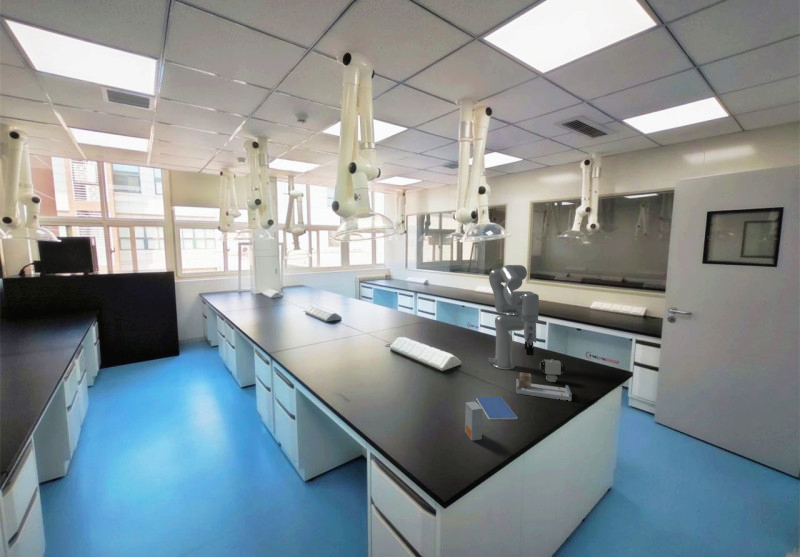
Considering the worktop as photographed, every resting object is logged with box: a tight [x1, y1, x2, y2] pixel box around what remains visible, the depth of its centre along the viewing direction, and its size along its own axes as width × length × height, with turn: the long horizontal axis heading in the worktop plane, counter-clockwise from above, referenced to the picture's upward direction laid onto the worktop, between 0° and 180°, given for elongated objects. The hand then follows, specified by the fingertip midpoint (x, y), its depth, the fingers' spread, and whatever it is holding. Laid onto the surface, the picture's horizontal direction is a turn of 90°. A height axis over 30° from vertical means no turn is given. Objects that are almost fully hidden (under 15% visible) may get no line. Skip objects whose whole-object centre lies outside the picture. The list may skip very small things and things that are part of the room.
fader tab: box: [519, 372, 532, 388], centre depth 158 cm, size 5×4×6 cm
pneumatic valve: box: [539, 358, 566, 383], centre depth 170 cm, size 6×12×12 cm, turn 76°
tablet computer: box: [475, 396, 519, 421], centre depth 140 cm, size 19×13×1 cm, turn 3°
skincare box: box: [464, 401, 483, 441], centre depth 118 cm, size 6×4×12 cm
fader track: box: [515, 378, 573, 402], centre depth 155 cm, size 24×10×4 cm, turn 71°
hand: (528, 352), depth 157 cm, fingers open, 9 cm apart
